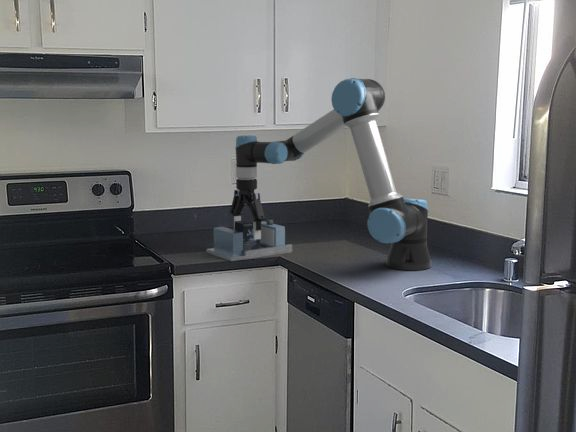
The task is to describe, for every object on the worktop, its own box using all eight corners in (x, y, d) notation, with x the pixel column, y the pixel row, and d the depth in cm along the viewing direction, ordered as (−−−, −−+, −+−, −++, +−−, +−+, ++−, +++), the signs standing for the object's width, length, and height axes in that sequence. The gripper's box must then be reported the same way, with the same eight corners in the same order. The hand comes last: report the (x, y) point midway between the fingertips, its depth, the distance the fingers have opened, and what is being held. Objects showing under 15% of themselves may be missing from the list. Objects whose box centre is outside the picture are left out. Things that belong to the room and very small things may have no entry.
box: (242, 252, 268) (242, 223, 267) (234, 249, 273) (233, 220, 271) (260, 249, 273) (260, 221, 271) (252, 246, 278) (252, 218, 276)
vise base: (292, 252, 274) (292, 227, 272) (231, 261, 259) (231, 235, 258) (265, 244, 288) (265, 220, 287) (206, 252, 274) (206, 227, 272)
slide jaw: (284, 248, 274) (284, 222, 273) (274, 249, 272) (274, 223, 270) (264, 241, 286) (264, 217, 284) (254, 243, 283) (254, 218, 281)
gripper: (274, 180, 261) (274, 240, 264) (237, 174, 281) (238, 230, 285) (256, 182, 257) (256, 242, 260) (220, 176, 277) (221, 232, 280)
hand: (247, 236), depth 272 cm, fingers open, 13 cm apart
